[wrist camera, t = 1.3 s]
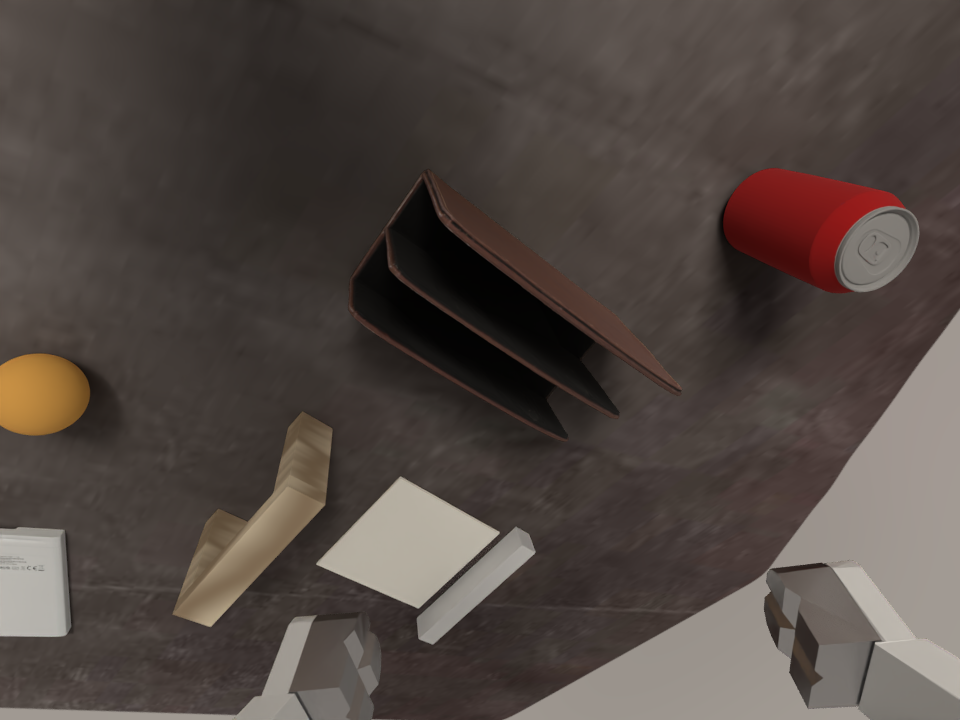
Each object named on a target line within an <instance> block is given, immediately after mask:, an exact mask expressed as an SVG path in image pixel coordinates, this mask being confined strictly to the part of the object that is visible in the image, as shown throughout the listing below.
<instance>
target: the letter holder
mask: <svg viewBox="0 0 960 720" xmlns="http://www.w3.org/2000/svg"><path fill="white" fill-rule="evenodd" d="M348 309H349V312H350V313H351V315H352V316H353V317H354V318H355V319H356V320H358V321H359V322H360V323H361V324H363V325H364V326H365V327H367V328H368V329H369V330H371V331H372V332H373V333H375V334H376V335H378V336H379V337H381V338H382V339H384V340H385V341H387V342H388V343H390V344H392V345H393V346H395V347H397V348H398V349H400V350H401V351H403V352H405V353H406V354H408V355H409V356H411V357H413V358H414V359H416V360H418V361H419V362H421V363H422V364H424V365H426V366H427V367H429V368H431V369H432V370H434V371H435V372H437V373H439V374H440V375H442V376H444V377H445V378H447V379H448V380H450V381H452V382H454V383H455V384H457V385H459V386H461V387H462V388H464V389H466V390H467V391H469V392H471V393H473V394H474V395H476V396H478V397H479V398H481V399H483V400H485V401H486V402H488V403H490V404H492V405H493V406H495V407H497V408H498V409H500V410H502V411H504V412H505V413H507V414H509V415H510V416H512V417H514V418H516V419H518V420H520V421H521V422H523V423H525V424H527V425H529V426H530V427H532V428H534V429H536V430H538V431H540V432H542V433H544V434H546V435H548V436H550V437H553V438H555V439H557V440H560V441H563V442H567V441H568V440H569V438H568V434H567V433H566V432H565V430H564V429H563V427H562V425H561V424H560V422H559V420H558V419H557V417H556V416H555V414H554V412H553V411H552V409H551V407H550V405H549V404H548V402H547V398H548V397H549V395H550V394H551V393H552V392H553V390H554V389H555V388H556V387H557V386H558V387H559V388H561V389H563V390H564V391H566V392H567V393H569V394H571V395H572V396H574V397H576V398H577V399H579V400H581V401H583V402H584V403H586V404H587V405H589V406H591V407H593V408H594V409H596V410H598V411H600V412H602V413H603V414H605V415H607V416H608V417H611V418H614V419H618V418H619V411H618V409H617V408H616V407H615V405H614V404H613V403H612V401H611V400H610V399H609V398H608V396H607V395H606V393H605V392H604V391H603V389H602V388H601V387H600V385H599V384H598V383H597V381H596V380H595V379H594V377H593V376H592V375H591V373H590V372H589V371H588V370H587V368H586V367H585V366H584V364H583V363H582V362H581V361H580V360H581V359H582V357H583V356H584V355H585V354H586V353H587V351H588V350H589V349H590V348H591V347H592V346H593V345H594V343H595V342H597V343H598V344H600V345H601V346H603V347H604V348H606V349H607V350H609V351H610V352H612V353H613V354H614V355H616V356H617V357H619V358H620V359H622V360H623V361H625V362H626V363H627V364H629V365H630V366H632V367H633V368H635V369H636V370H637V371H639V372H640V373H642V374H643V375H645V376H646V377H648V378H649V379H650V380H652V381H653V382H655V383H656V384H658V385H659V386H661V387H662V388H664V389H665V390H667V391H669V392H670V393H672V394H674V395H676V396H680V395H681V391H682V390H683V389H682V388H681V387H680V386H679V385H678V383H677V382H676V381H675V380H674V379H673V378H672V377H671V376H670V375H669V374H668V373H667V372H666V371H665V369H664V368H663V367H662V366H661V365H660V363H659V362H658V361H657V360H656V359H655V357H654V356H653V355H652V354H651V352H650V351H649V350H648V349H647V348H646V347H645V346H644V345H643V344H642V343H641V342H640V341H639V340H638V339H637V338H636V337H635V336H634V335H633V333H632V332H631V331H630V330H629V329H628V328H627V327H626V326H625V325H624V324H623V323H622V322H621V321H620V319H619V318H618V317H617V316H616V315H615V314H614V313H612V312H611V311H610V310H609V309H607V308H606V307H605V306H603V305H602V304H600V303H599V302H598V301H596V300H595V299H594V298H593V297H591V296H590V295H589V294H587V293H586V292H585V291H583V290H582V289H581V288H580V287H578V286H577V285H576V284H574V283H573V282H572V281H570V280H569V279H568V278H567V277H565V276H564V275H563V274H562V273H560V272H559V271H558V270H556V269H555V268H554V267H553V266H551V265H550V264H549V263H547V262H546V261H545V260H544V259H542V258H541V257H540V256H539V255H537V254H536V253H535V252H533V251H532V250H531V249H529V248H528V247H527V246H525V245H524V244H523V243H522V242H520V241H519V240H518V239H516V238H515V237H514V236H512V235H511V234H510V233H509V232H507V231H506V230H505V229H504V228H502V227H501V226H500V225H498V224H497V223H496V222H494V221H493V220H492V219H491V218H489V217H488V216H487V215H486V214H484V213H483V212H482V211H480V210H479V209H478V208H477V207H475V206H474V205H473V204H471V203H470V202H469V201H467V200H466V199H465V198H464V197H462V196H461V195H460V194H458V193H457V192H456V191H455V190H453V189H452V188H451V187H450V186H448V185H447V184H446V183H445V182H443V180H442V179H440V178H439V177H438V176H436V175H435V174H434V173H433V172H431V171H430V170H429V169H427V170H426V171H424V172H423V173H422V174H421V176H420V177H419V178H418V180H417V181H416V183H415V184H414V186H413V187H412V189H411V190H410V191H409V193H408V194H407V196H406V197H405V198H404V200H403V201H402V203H401V204H400V206H399V207H398V209H397V210H396V211H395V213H394V214H393V216H392V217H391V218H390V220H389V221H388V223H387V224H386V226H385V227H384V229H383V230H382V232H381V233H380V235H379V236H378V237H377V239H376V240H375V242H374V243H373V245H372V246H371V248H370V249H369V251H368V252H367V253H366V255H365V256H364V258H363V259H362V261H361V262H360V264H359V265H358V267H357V268H356V270H355V271H354V273H353V275H352V276H351V278H350V283H349V303H348Z"/></svg>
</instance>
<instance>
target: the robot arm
mask: <svg viewBox="0 0 960 720" xmlns="http://www.w3.org/2000/svg"><path fill="white" fill-rule="evenodd" d="M766 582H767V584H768V586H769V588H770V590H771V592H770V593H769V594H768V595H767V596H766V597H765V603H764V612H765V617H766V622H767V626H768V628H769V631H770V633H771V636H772V638H773V640H774V642H775V645H776V647H777V648H778V650H780V651H781V652H782V653H784V654H785V655H786V656H788V657H789V658H790V659H791V664H790V672H789V673H790V674H791V676H792V678H793V680H794V682H795V684H796V686H797V688H798V690H799V692H800V694H801V696H802V698H803V699H804V702H805V704H806V706H807V708H808V709H814V708H835V707H856V706H859V708H858V709H859V710H860V711H861V712H862V713H863V714H864V715H866V716H867V717H868V718H869V719H870V720H960V658H958V657H956V656H955V655H953V654H951V653H950V652H948V651H946V650H945V649H943V648H941V647H940V646H938V645H936V644H935V643H933V642H931V641H930V640H928V639H926V638H918V639H917V638H916V637H915V636H914V634H913V633H912V632H911V631H910V629H909V628H908V627H907V625H906V624H905V623H904V621H903V620H902V619H901V618H900V616H899V615H898V614H897V612H896V611H895V610H894V609H893V607H892V606H891V605H890V603H889V602H888V601H887V600H886V598H885V597H884V596H883V594H882V593H881V592H880V591H879V589H878V588H877V587H876V585H875V584H874V583H873V581H872V580H871V579H870V578H869V576H868V575H867V574H866V572H865V571H864V570H863V569H862V567H861V566H860V565H859V564H858V563H856V562H855V561H853V560H852V561H840V562H831V563H824V564H823V563H816V564H807V565H800V566H790V567H782V568H773V569H770V570H769V571H768V573H767V580H766ZM369 626H370V620H369V618H368V615H367V613H366V612H353V613H339V614H326V615H313V616H302V617H295V618H294V619H293V620H292V621H291V623H290V624H289V625H288V628H287V631H286V633H285V636H284V638H283V641H282V644H281V646H280V649H279V651H278V654H277V657H276V659H275V662H274V664H273V667H272V670H271V672H270V675H269V678H268V680H267V683H266V685H265V688H264V691H263V693H262V696H256V697H254V698H253V699H252V700H251V701H250V702H249V703H248V704H247V705H246V706H245V707H244V708H243V709H242V710H241V711H240V712H239V714H238V715H237V716H236V717H235V718H234V719H233V720H371V719H372V714H373V709H374V706H373V704H372V701H371V699H370V697H369V695H370V694H371V693H372V691H373V690H374V689H375V688H376V686H377V685H378V683H379V677H380V672H381V650H380V645H379V641H378V639H377V636H376V635H375V634H373V633H371V632H370V631H369Z"/></svg>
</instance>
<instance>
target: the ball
mask: <svg viewBox="0 0 960 720" xmlns="http://www.w3.org/2000/svg"><path fill="white" fill-rule="evenodd" d="M89 399H90V387H89V383H88V380H87V378H86V376H85V375H84V373H83V372H82V371H81V370H80V369H79V368H78V367H77V366H76V365H75V364H73V363H72V362H70V361H69V360H67V359H64V358H62V357H59V356H55V355H51V354H28V355H23V356H19V357H16V358H14V359H11V360H9V361H7V362H6V363H4V364H2V365H1V366H0V425H1V426H2V427H4V428H6V429H8V430H10V431H12V432H16V433H19V434H24V435H45V434H50V433H54V432H58V431H60V430H62V429H64V428H66V427H68V426H70V425H71V424H73V423H74V422H75V421H76V420H78V419H79V418H80V416H81V415H82V414H83V413H84V411H85V409H86V408H87V405H88V403H89Z"/></svg>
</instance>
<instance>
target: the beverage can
mask: <svg viewBox="0 0 960 720" xmlns="http://www.w3.org/2000/svg"><path fill="white" fill-rule="evenodd" d="M723 228H724V233H725V236H726V238H727V240H728V242H729V243H730V244H731V245H732V246H733V247H734V248H735V249H737V250H739V251H741V252H743V253H745V254H747V255H749V256H751V257H753V258H755V259H757V260H759V261H761V262H763V263H766V264H768V265H770V266H772V267H774V268H776V269H778V270H780V271H783V272H785V273H787V274H789V275H791V276H793V277H796V278H798V279H800V280H802V281H804V282H807V283H809V284H811V285H813V286H816V287H818V288H820V289H822V290H825V291H827V292H831V293H847V292H854V291H856V292H868V291H873V290H876V289H878V288H880V287H882V286H884V285H886V284H887V283H889V282H890V281H892V280H893V279H894V278H895V277H896V276H898V275H899V274H900V273H901V271H902V270H903V269H904V268H905V267H906V265H907V264H908V263H909V261H910V260H911V258H912V256H913V254H914V252H915V249H916V247H917V244H918V239H919V225H918V222H917V219H916V218H915V216H914V215H913V214H912V213H911V212H910V211H908V210H906V208H905V207H904V206H903V204H902V203H901V201H900V200H899V199H898V198H897V197H895V196H894V195H893V194H891V193H889V192H885V191H881V190H877V189H873V188H868V187H864V186H860V185H855V184H851V183H846V182H842V181H837V180H833V179H828V178H823V177H819V176H814V175H809V174H804V173H799V172H794V171H789V170H784V169H779V168H770V169H765V170H761V171H759V172H756V173H755V174H753V175H751V176H750V177H748V178H747V179H746V180H744V181H743V182H742V183H741V184H740V185H739V186H738V187H737V189H736V190H735V191H734V193H733V194H732V196H731V197H730V199H729V201H728V204H727V206H726V209H725V213H724V218H723Z"/></svg>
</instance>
